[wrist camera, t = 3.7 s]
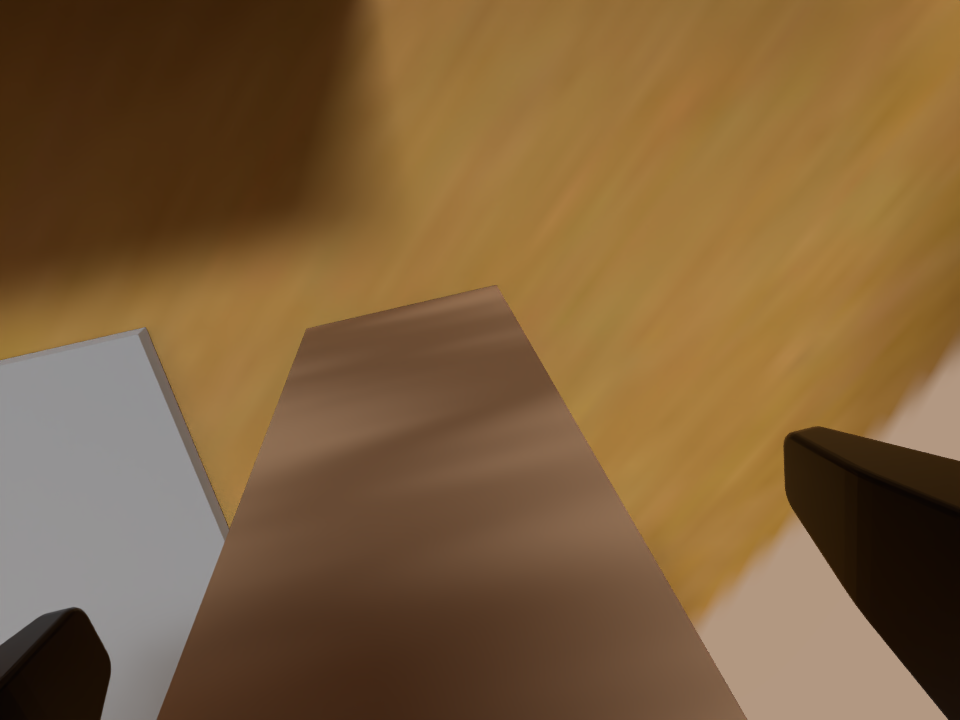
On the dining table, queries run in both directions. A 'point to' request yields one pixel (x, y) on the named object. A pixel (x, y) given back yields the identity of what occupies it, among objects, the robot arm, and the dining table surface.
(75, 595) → the mat
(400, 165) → the dining table surface
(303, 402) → the brown rectangular block
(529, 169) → the dining table surface
